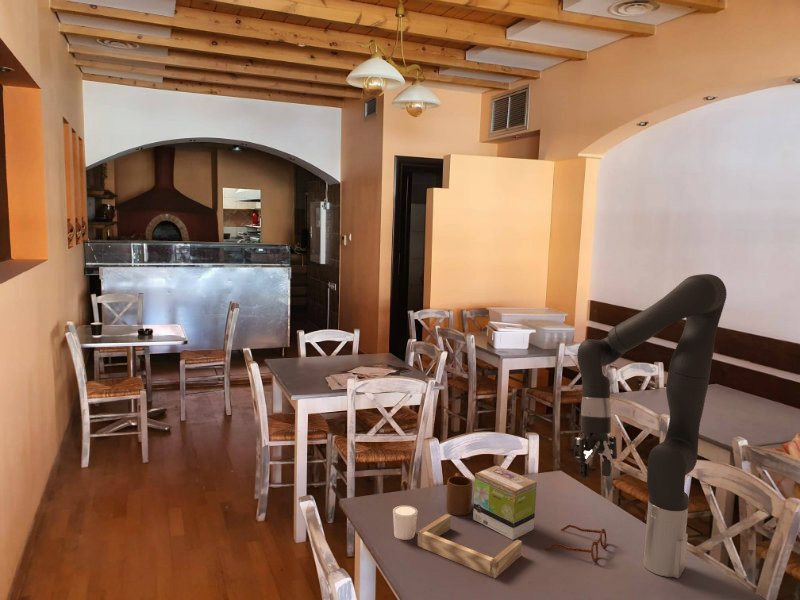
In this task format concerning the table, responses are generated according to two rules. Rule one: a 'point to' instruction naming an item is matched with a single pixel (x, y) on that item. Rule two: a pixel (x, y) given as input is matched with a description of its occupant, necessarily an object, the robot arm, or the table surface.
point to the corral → (466, 549)
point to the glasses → (584, 549)
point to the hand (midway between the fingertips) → (595, 476)
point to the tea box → (504, 501)
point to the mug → (459, 495)
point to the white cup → (404, 522)
